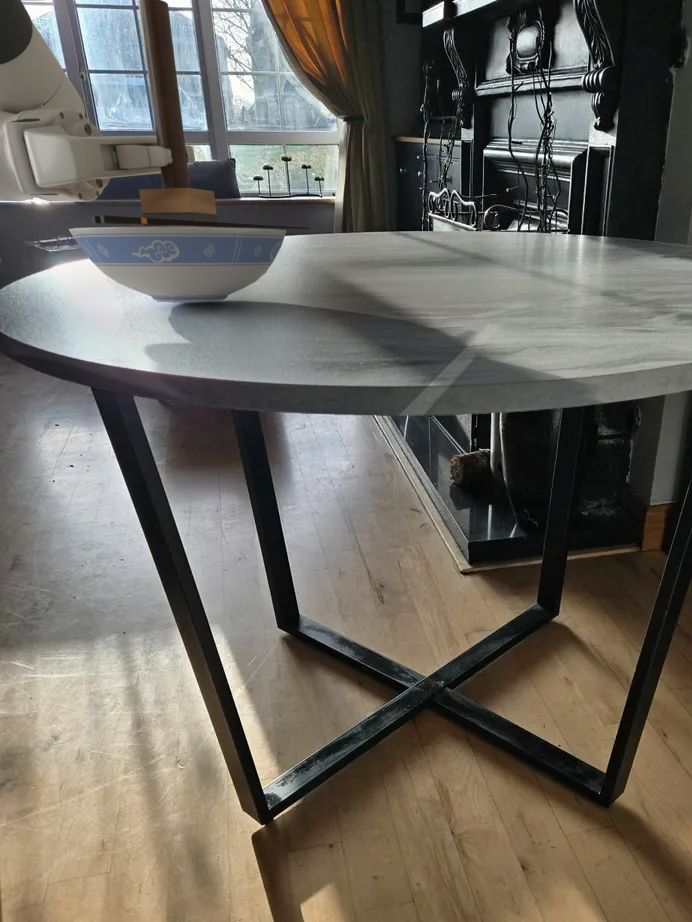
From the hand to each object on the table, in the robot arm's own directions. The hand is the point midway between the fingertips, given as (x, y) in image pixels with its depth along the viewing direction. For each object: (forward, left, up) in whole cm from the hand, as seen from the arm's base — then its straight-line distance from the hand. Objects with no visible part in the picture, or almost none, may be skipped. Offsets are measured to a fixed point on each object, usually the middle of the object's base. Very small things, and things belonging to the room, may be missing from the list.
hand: (179, 155), depth 82 cm
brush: (-1, -1, -7) cm, 7 cm away
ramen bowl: (-1, -2, -15) cm, 15 cm away
